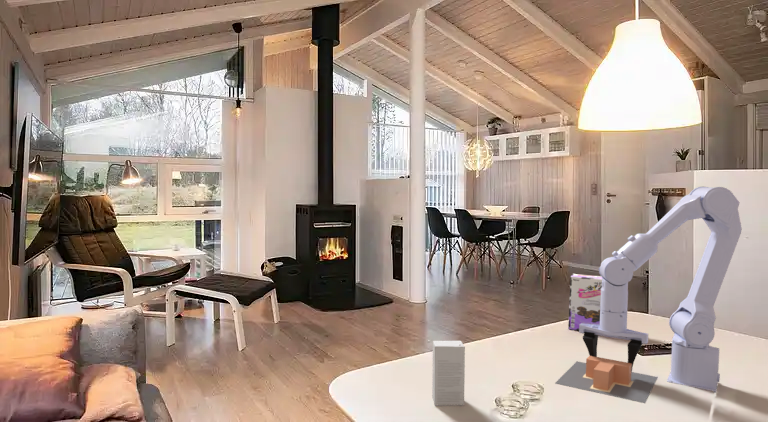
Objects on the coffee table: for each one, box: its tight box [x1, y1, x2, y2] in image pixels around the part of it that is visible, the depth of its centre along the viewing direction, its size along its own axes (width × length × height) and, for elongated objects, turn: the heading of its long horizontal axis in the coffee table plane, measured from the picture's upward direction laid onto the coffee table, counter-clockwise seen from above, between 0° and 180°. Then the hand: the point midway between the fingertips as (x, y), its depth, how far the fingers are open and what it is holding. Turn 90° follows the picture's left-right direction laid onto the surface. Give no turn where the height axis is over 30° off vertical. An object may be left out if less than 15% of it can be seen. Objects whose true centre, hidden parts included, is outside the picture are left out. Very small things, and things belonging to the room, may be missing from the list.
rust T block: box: [585, 355, 633, 390], centre depth 120 cm, size 9×9×4 cm
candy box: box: [567, 273, 602, 331], centre depth 164 cm, size 14×6×16 cm, turn 62°
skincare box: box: [431, 340, 466, 407], centre depth 109 cm, size 6×4×12 cm
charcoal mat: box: [554, 361, 658, 404], centre depth 121 cm, size 18×18×1 cm
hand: (611, 368), depth 125 cm, fingers open, 7 cm apart
